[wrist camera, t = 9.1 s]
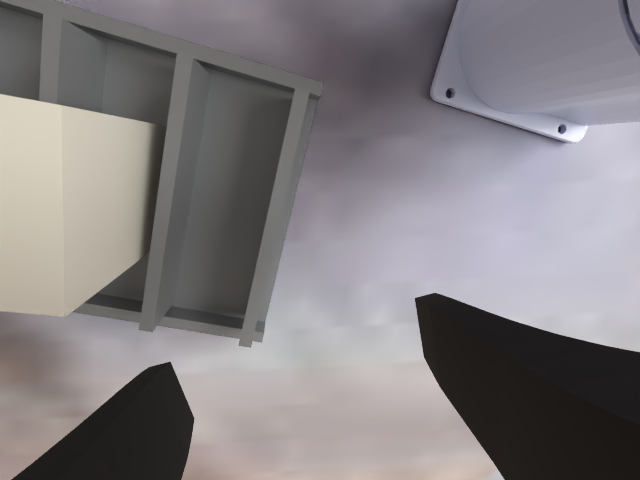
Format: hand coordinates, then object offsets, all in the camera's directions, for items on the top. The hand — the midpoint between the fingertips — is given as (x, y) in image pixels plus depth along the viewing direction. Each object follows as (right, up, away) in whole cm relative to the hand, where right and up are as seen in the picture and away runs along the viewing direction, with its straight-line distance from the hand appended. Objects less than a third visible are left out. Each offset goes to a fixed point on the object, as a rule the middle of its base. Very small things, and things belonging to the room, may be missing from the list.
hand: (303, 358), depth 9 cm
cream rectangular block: (-9, +6, +7) cm, 13 cm away
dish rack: (-9, +6, +8) cm, 13 cm away
